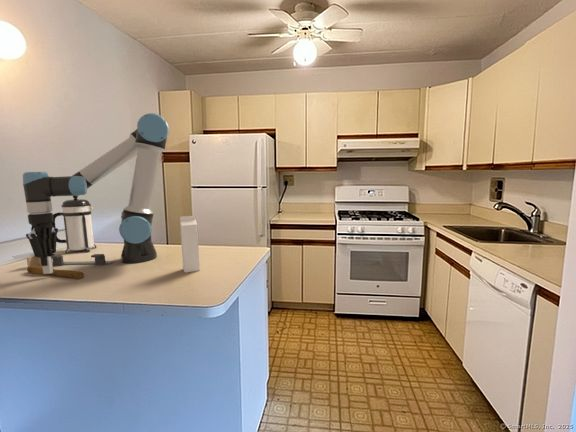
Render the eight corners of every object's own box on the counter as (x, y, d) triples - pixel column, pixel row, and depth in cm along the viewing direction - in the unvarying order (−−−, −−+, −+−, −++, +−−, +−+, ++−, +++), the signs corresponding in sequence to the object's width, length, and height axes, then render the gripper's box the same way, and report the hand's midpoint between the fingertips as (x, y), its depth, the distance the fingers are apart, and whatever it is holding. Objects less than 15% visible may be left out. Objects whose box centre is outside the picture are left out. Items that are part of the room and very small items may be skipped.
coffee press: (89, 246, 178) (83, 193, 174) (102, 249, 168) (97, 193, 165) (53, 252, 164) (46, 195, 160) (65, 256, 155) (58, 196, 151)
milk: (200, 270, 126) (196, 216, 123) (184, 272, 123) (180, 217, 120) (197, 266, 131) (194, 214, 128) (182, 268, 129) (179, 215, 126)
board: (113, 262, 142) (112, 249, 141) (102, 267, 133) (100, 254, 133) (42, 263, 143) (41, 251, 142) (26, 269, 134) (25, 255, 134)
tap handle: (76, 272, 118) (24, 266, 128) (77, 280, 118) (25, 273, 128) (84, 270, 121) (32, 264, 131) (85, 278, 121) (33, 271, 131)
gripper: (44, 211, 125) (51, 268, 128) (15, 215, 112) (24, 278, 115) (62, 210, 125) (69, 267, 128) (35, 214, 112) (44, 278, 115)
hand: (48, 273), depth 122 cm, fingers closed
